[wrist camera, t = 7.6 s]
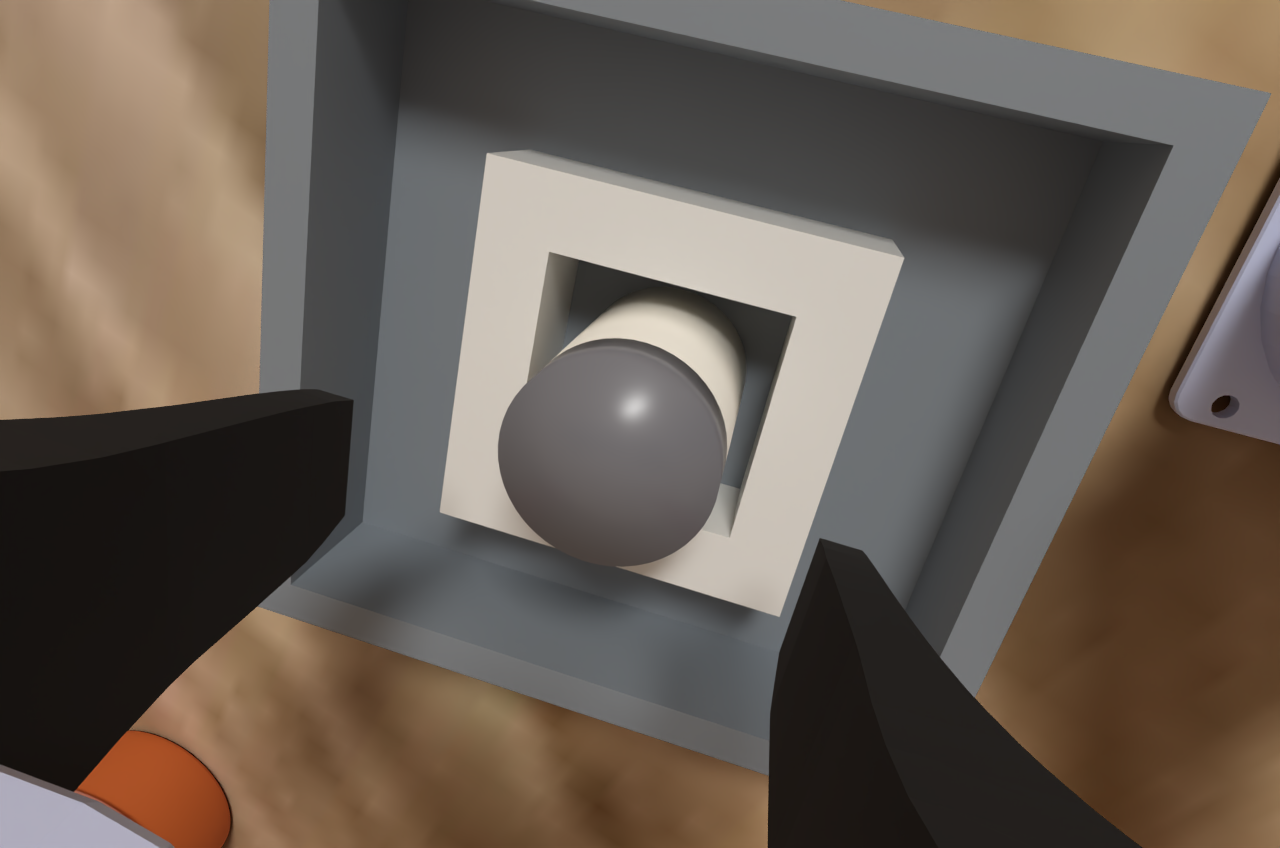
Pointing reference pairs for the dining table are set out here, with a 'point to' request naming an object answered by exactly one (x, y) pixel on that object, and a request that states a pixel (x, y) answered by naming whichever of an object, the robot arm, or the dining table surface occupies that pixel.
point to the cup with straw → (161, 791)
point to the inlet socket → (692, 258)
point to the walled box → (723, 305)
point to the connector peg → (627, 430)
